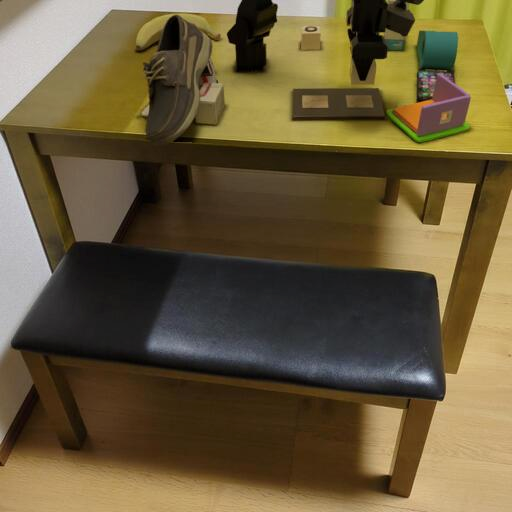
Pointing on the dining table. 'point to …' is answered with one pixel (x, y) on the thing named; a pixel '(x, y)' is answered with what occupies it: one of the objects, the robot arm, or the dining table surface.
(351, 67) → the tile
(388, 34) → the ink box
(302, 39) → the tile
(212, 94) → the small box
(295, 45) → the dining table surface
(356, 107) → the word board
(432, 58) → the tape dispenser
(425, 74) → the smartphone
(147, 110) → the soap
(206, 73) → the toy car
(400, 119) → the miniature room corner
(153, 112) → the boat shoe
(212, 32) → the banana
